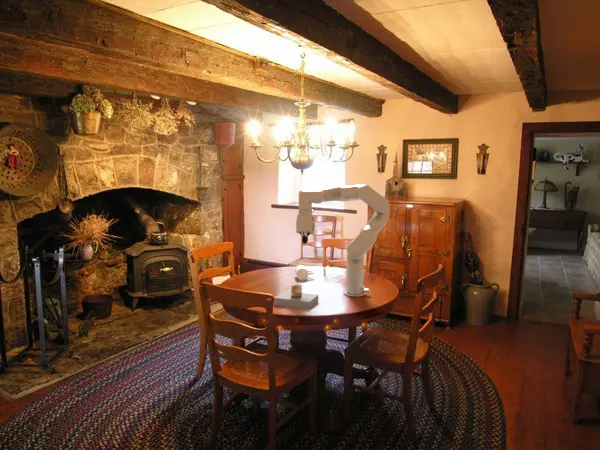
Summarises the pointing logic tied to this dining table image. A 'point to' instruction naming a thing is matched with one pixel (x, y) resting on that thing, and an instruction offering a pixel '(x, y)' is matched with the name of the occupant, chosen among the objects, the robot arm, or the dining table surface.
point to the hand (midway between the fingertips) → (304, 243)
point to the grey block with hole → (296, 300)
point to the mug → (302, 272)
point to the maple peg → (296, 290)
